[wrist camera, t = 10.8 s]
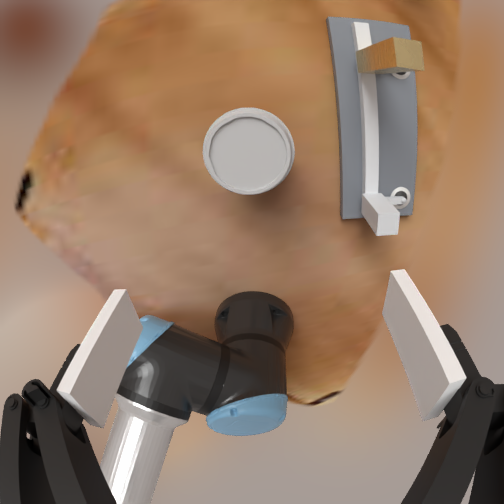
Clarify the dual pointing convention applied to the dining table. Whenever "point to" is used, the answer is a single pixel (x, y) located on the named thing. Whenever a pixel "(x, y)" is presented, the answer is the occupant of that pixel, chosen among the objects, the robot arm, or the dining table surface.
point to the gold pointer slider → (391, 57)
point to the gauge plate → (387, 118)
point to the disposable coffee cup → (248, 151)
